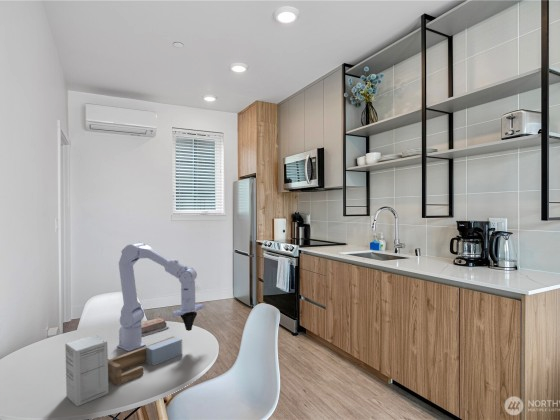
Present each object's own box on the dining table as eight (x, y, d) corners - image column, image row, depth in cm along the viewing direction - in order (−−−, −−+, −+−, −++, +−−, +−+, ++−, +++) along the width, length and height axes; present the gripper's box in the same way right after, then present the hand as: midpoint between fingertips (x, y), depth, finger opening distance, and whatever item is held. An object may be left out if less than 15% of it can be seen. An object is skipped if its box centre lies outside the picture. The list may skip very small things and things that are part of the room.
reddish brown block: (158, 315, 172) (168, 319, 165) (158, 325, 172) (168, 329, 165) (122, 324, 159) (132, 329, 152) (122, 335, 159) (132, 340, 152)
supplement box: (97, 384, 113) (96, 334, 113) (109, 393, 107) (109, 340, 107) (65, 396, 106) (64, 342, 105) (76, 407, 100) (75, 350, 100)
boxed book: (146, 362, 129) (146, 347, 129) (176, 351, 139) (175, 336, 139) (152, 366, 126) (152, 350, 126) (182, 354, 136) (182, 339, 136)
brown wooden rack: (101, 376, 118) (101, 359, 118) (173, 348, 142) (173, 333, 142) (116, 385, 112) (116, 367, 112) (188, 354, 136) (188, 339, 136)
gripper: (180, 303, 134) (180, 337, 134) (207, 295, 145) (208, 326, 145) (169, 300, 138) (169, 333, 138) (197, 293, 150) (197, 323, 150)
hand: (188, 329), depth 142 cm, fingers closed
